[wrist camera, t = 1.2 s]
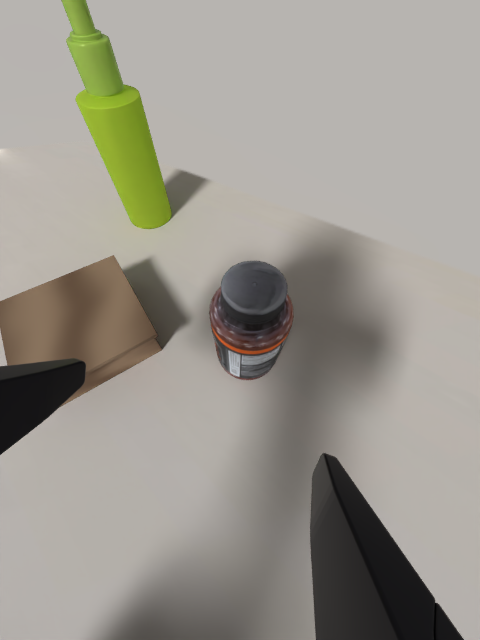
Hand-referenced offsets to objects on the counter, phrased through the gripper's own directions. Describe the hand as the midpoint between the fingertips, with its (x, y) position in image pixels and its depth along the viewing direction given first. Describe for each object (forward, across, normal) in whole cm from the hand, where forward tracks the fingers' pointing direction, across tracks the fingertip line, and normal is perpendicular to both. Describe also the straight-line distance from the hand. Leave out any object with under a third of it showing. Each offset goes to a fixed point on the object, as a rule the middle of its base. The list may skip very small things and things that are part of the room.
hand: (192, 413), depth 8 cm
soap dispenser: (+26, +19, -7) cm, 34 cm away
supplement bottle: (+15, 0, +4) cm, 16 cm away
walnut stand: (+12, +15, +6) cm, 21 cm away
